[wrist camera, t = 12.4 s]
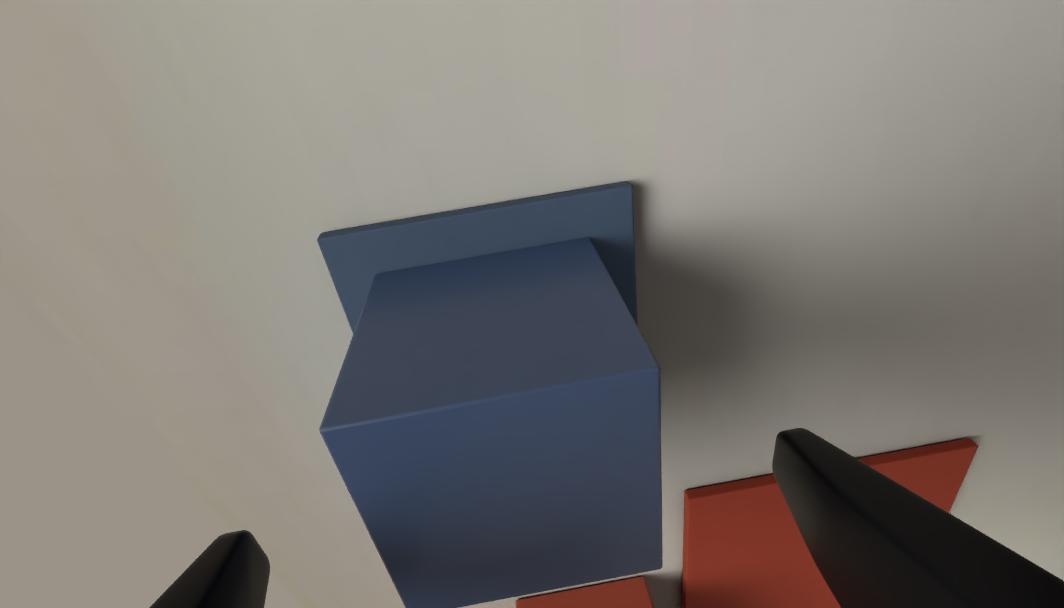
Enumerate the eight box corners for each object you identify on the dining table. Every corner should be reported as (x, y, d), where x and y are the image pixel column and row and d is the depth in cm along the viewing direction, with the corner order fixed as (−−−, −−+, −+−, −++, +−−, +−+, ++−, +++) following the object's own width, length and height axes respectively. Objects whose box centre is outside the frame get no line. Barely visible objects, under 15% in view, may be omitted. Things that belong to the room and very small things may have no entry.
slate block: (427, 432, 14) (409, 618, 10) (373, 273, 11) (316, 430, 7) (604, 400, 14) (663, 570, 10) (589, 236, 12) (661, 367, 7)
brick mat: (680, 641, 22) (683, 651, 22) (683, 489, 17) (688, 499, 17) (900, 598, 22) (907, 607, 22) (969, 437, 17) (979, 445, 17)
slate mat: (404, 452, 15) (402, 462, 14) (320, 232, 11) (315, 238, 11) (637, 409, 15) (641, 419, 15) (627, 180, 11) (632, 185, 11)
